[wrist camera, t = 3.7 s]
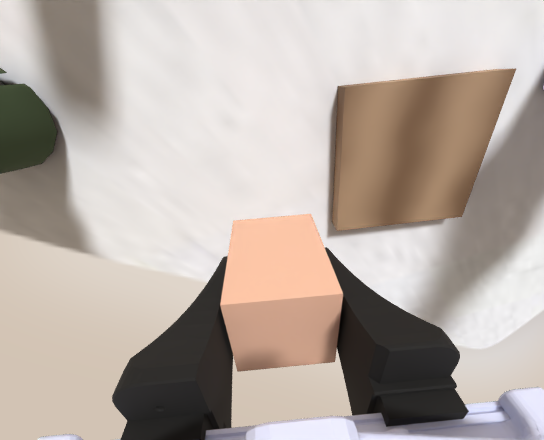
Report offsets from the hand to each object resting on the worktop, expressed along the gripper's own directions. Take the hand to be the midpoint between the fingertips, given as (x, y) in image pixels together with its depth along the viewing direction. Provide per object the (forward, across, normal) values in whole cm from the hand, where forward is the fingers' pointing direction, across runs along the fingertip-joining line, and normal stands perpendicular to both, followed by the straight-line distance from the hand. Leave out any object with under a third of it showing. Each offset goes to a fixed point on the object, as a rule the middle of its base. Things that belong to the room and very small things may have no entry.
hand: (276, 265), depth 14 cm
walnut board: (+9, -11, -3) cm, 14 cm away
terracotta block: (+2, 0, 0) cm, 2 cm away
